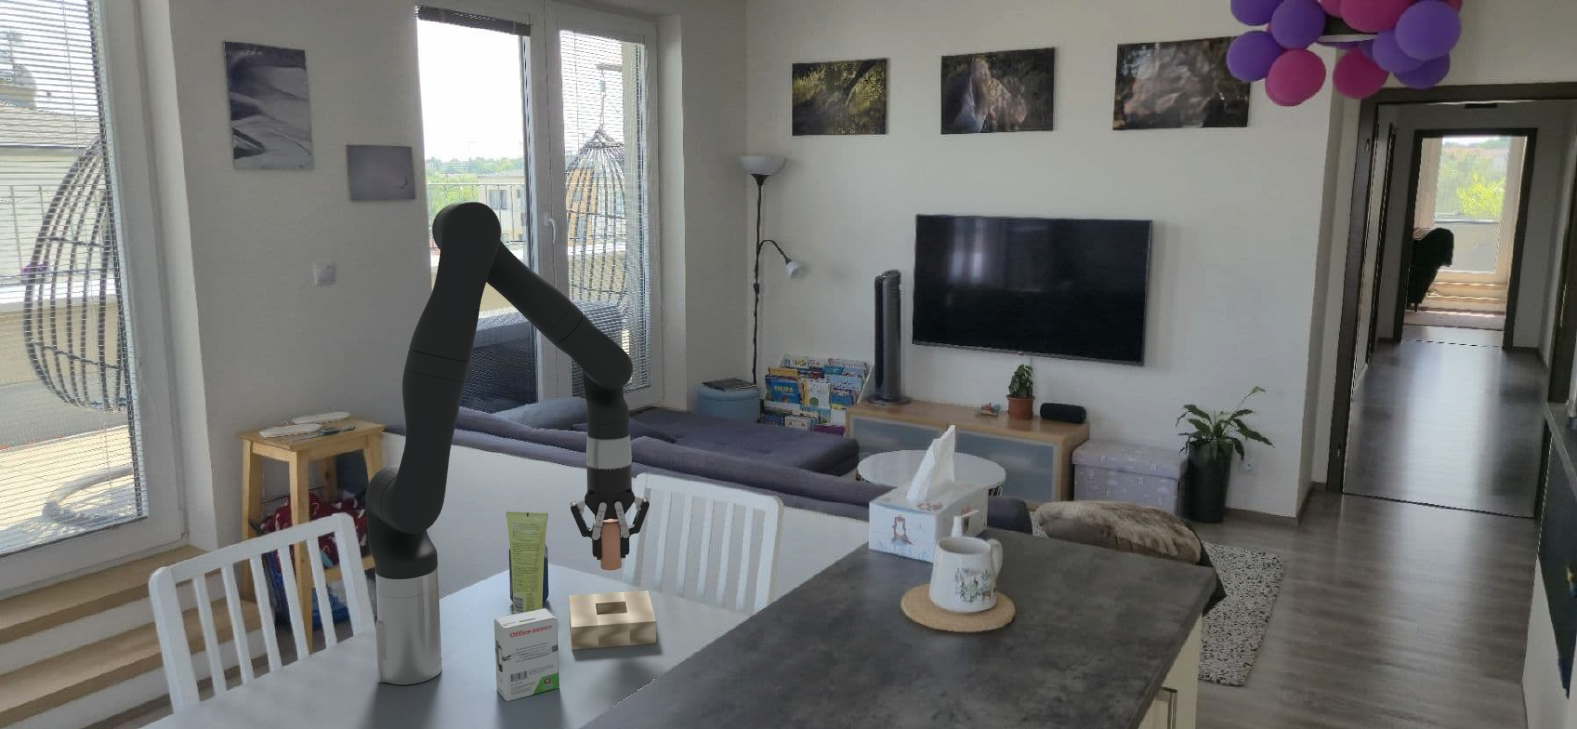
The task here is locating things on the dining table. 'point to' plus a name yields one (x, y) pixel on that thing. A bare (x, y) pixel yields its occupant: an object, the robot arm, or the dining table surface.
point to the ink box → (526, 654)
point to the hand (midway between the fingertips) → (610, 557)
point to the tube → (527, 558)
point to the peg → (610, 545)
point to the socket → (611, 620)
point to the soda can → (545, 577)
